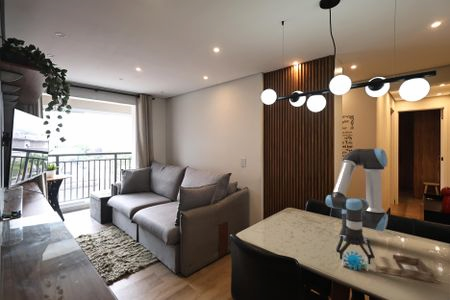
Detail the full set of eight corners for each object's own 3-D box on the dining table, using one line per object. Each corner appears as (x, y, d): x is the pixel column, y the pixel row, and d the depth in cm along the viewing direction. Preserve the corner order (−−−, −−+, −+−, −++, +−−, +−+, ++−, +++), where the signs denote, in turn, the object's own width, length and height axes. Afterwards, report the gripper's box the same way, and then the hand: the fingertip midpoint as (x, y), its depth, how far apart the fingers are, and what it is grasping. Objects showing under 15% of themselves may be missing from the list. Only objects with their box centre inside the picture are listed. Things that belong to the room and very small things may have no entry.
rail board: (376, 272, 113) (376, 264, 113) (370, 257, 128) (370, 250, 128) (433, 282, 104) (433, 274, 104) (419, 265, 118) (419, 258, 118)
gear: (340, 262, 120) (347, 247, 123) (342, 266, 123) (349, 251, 126) (361, 274, 111) (369, 257, 114) (363, 278, 114) (370, 261, 117)
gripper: (331, 227, 118) (331, 266, 119) (381, 233, 109) (382, 275, 109) (330, 222, 125) (331, 259, 125) (378, 227, 115) (378, 268, 116)
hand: (354, 267), depth 117 cm, fingers closed on gear, 11 cm apart
